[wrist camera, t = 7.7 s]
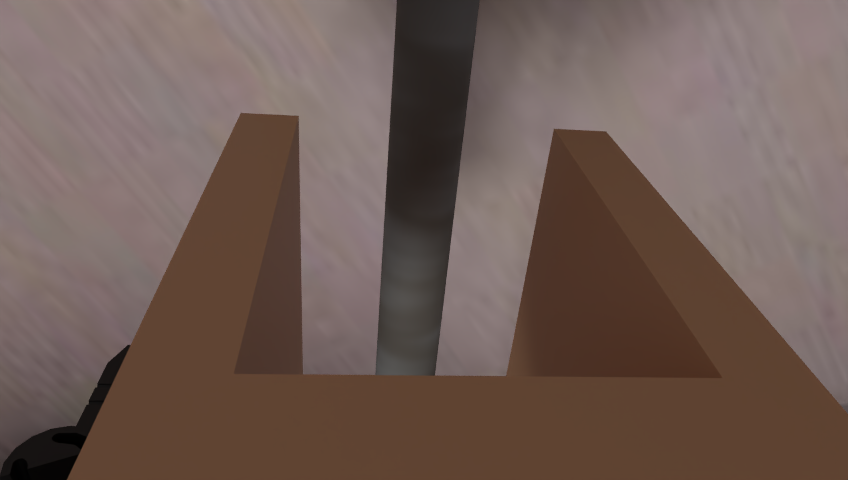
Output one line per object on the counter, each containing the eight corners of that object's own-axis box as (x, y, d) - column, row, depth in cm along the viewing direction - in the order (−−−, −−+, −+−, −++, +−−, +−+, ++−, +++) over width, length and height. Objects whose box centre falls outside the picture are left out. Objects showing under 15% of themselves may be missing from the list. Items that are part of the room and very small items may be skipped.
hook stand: (589, -271, 24) (859, -424, 11) (503, 247, 35) (581, 487, 22) (255, -310, 23) (88, -537, 9) (276, 238, 34) (213, 487, 21)
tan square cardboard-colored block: (606, 131, 15) (914, 492, 6) (543, 394, 19) (683, 822, 10) (240, 113, 14) (56, 501, 6) (258, 393, 18) (166, 858, 10)
